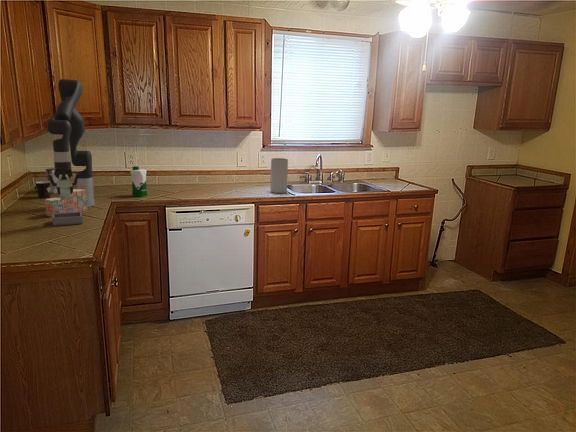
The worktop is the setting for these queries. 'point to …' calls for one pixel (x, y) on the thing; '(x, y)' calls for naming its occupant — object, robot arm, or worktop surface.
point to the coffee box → (51, 171)
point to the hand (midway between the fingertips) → (65, 193)
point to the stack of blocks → (67, 203)
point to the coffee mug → (43, 189)
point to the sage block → (65, 189)
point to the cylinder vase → (279, 175)
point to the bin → (67, 218)
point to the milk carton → (138, 182)
